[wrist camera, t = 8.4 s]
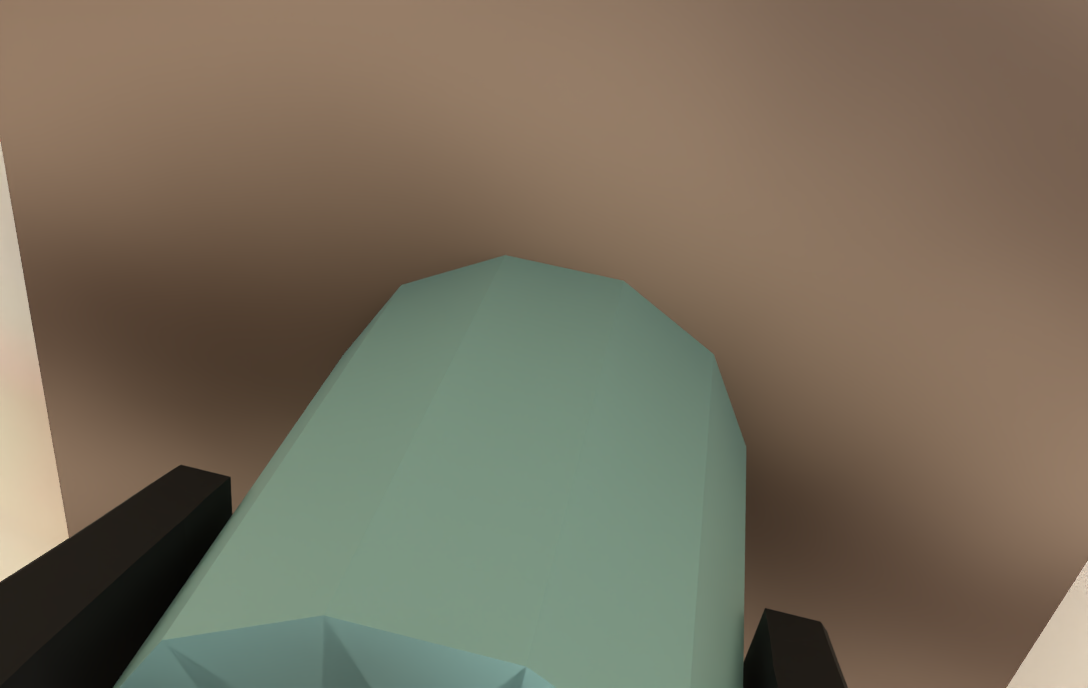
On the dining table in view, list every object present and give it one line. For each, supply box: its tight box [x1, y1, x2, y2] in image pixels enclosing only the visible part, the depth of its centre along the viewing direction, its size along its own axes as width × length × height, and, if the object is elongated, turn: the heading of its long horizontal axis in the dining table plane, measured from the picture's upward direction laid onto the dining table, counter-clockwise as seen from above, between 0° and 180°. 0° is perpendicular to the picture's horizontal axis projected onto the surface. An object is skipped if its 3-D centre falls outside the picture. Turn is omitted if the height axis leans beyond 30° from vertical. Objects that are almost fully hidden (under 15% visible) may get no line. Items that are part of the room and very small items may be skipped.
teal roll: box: [113, 255, 746, 688], centre depth 11 cm, size 6×6×6 cm
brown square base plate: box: [0, 0, 1088, 688], centre depth 11 cm, size 15×15×6 cm
